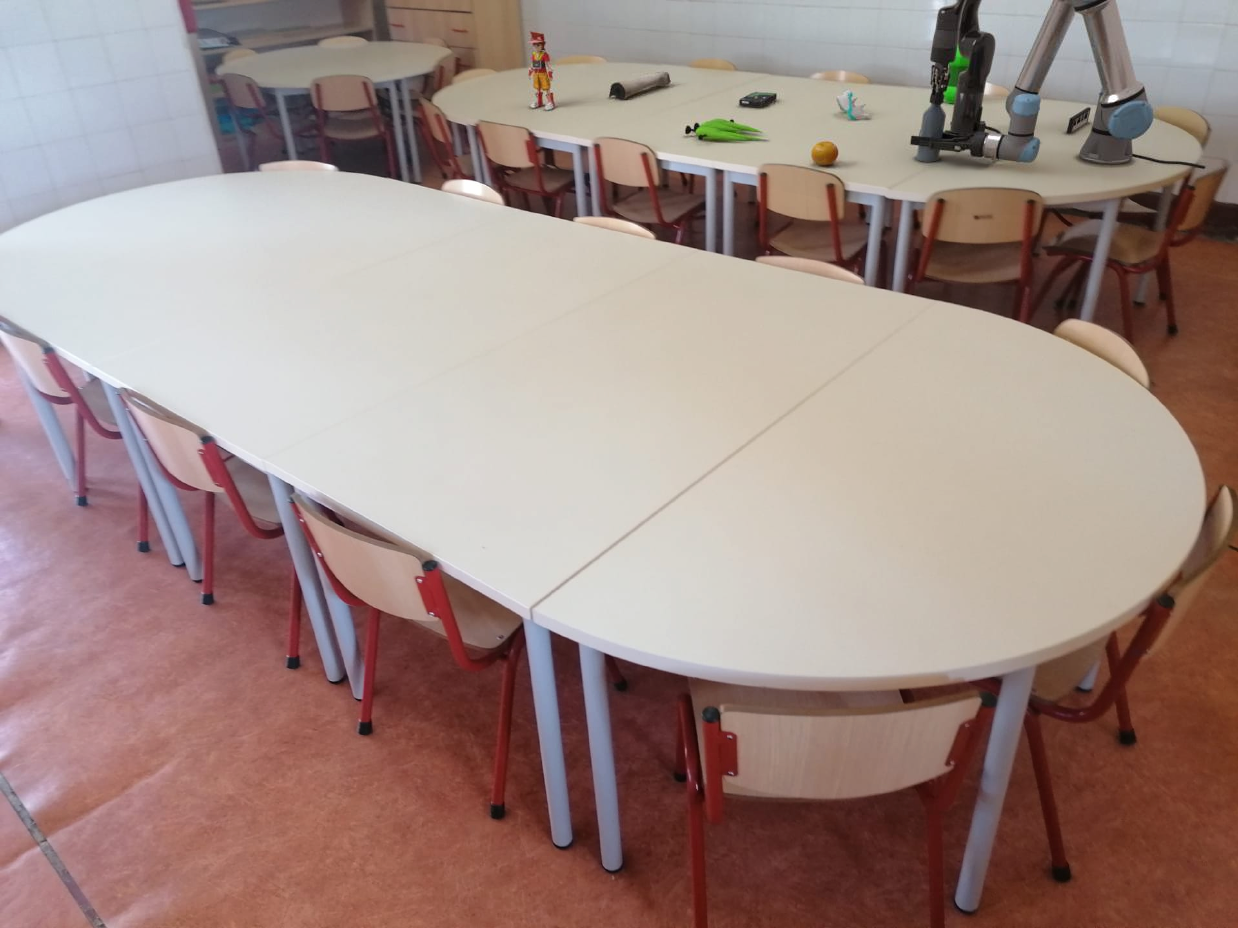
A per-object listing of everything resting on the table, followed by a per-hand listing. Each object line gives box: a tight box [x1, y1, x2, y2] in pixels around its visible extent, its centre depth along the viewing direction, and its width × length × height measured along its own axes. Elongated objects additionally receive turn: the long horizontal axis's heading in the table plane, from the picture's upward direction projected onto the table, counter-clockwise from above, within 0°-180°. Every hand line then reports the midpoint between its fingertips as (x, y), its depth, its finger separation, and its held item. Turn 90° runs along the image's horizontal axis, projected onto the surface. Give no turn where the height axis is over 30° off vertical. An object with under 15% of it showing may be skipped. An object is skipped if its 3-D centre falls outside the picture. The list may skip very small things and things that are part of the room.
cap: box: [929, 92, 945, 104], centre depth 286 cm, size 4×4×2 cm
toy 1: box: [527, 31, 556, 111], centre depth 374 cm, size 12×9×30 cm
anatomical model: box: [836, 89, 870, 121], centre depth 344 cm, size 15×10×10 cm
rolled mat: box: [608, 71, 672, 101], centre depth 395 cm, size 30×9×10 cm
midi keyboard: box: [1066, 107, 1092, 134], centre depth 315 cm, size 18×1×5 cm, turn 138°
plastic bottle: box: [943, 47, 970, 104], centre depth 348 cm, size 10×10×25 cm
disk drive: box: [738, 91, 778, 109], centre depth 368 cm, size 10×3×15 cm
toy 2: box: [684, 118, 766, 141], centre depth 330 cm, size 28×5×30 cm
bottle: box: [916, 103, 947, 163], centre depth 291 cm, size 7×7×20 cm
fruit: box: [810, 140, 839, 166], centre depth 296 cm, size 8×8×8 cm
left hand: (936, 102), depth 286 cm, fingers closed on cap, 4 cm apart
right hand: (915, 137), depth 295 cm, fingers closed on bottle, 7 cm apart
